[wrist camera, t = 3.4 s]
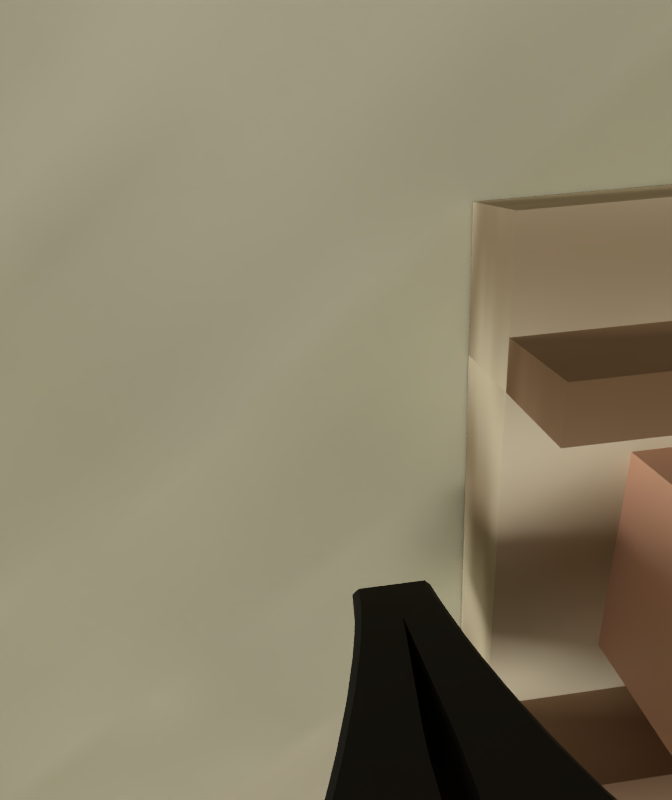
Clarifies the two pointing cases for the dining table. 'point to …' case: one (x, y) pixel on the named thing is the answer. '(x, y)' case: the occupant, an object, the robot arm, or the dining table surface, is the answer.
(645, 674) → the block terracotta
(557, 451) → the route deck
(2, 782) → the dining table surface
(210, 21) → the dining table surface
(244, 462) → the dining table surface
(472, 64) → the dining table surface
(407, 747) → the robot arm
